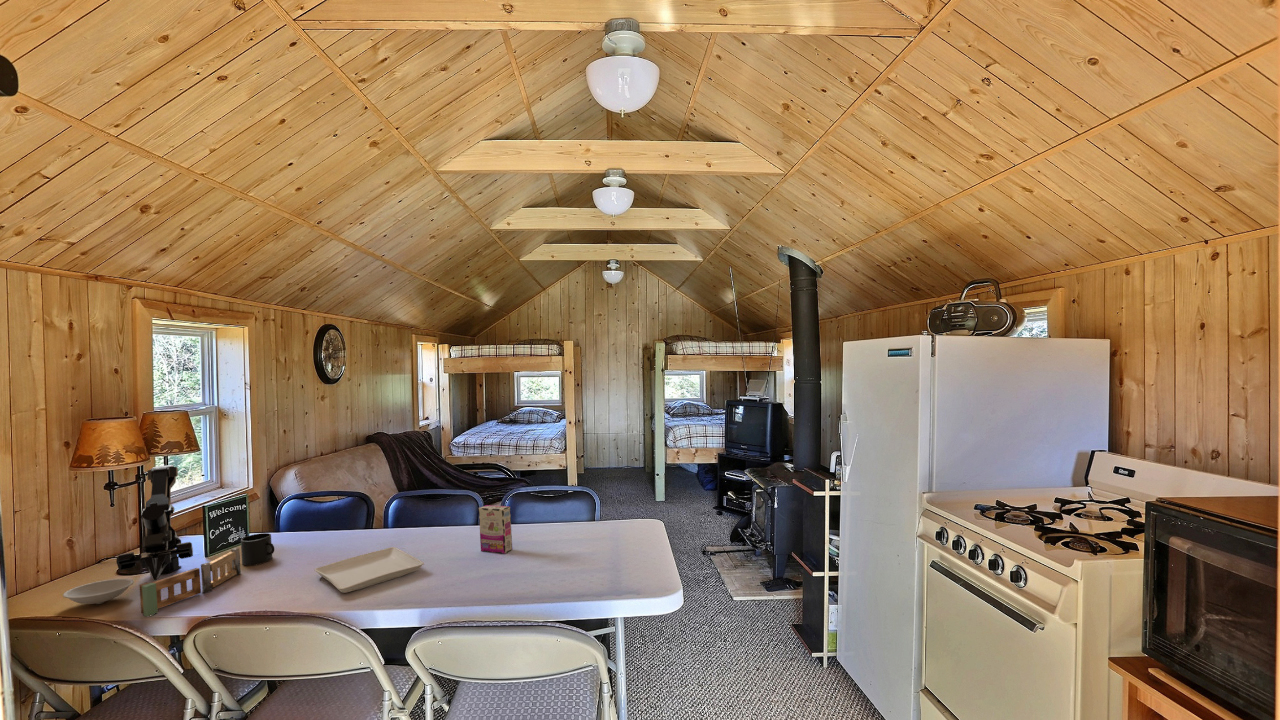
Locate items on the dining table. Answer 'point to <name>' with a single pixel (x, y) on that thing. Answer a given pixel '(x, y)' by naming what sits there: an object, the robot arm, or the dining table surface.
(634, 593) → the dining table surface
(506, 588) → the dining table surface
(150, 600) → the post
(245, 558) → the mug
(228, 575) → the wooden fence panel
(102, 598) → the dish
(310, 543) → the dining table surface
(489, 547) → the candy bar box
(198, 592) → the gate
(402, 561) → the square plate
